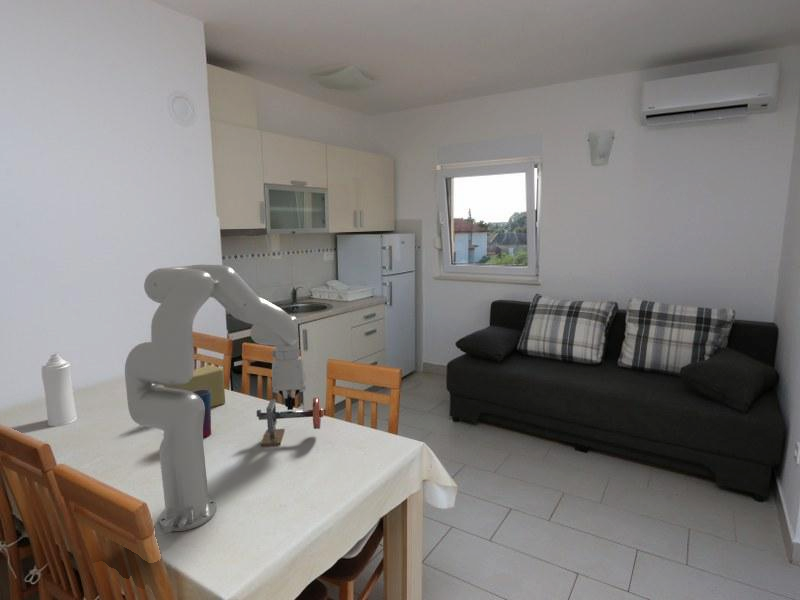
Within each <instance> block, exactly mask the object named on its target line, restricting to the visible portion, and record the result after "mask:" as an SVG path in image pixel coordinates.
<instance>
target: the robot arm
mask: <svg viewBox="0 0 800 600" xmlns="http://www.w3.org/2000/svg"><path fill="white" fill-rule="evenodd" d="M143 288H144V291H145V295H146V296H147V297H148V298H149V299H150V300H151V301H153V302H156V303H158V304H160V305H159V306H157V309H156V310H155V311H154V314H153V316H152V320H151V325H150V338H151V339H150V340H151V341H145V342H142V343H138V344H137V345H135V346H134V347H133V348H132V349H130V350H131V351H130V352H129V353H128V355H127V357H126V360H125V363H124V378H125V388H126V389H125V390H126V398H127V399H126V400H127V407H128V413H129V416H130V417H131V419H132V421H134V423H136V424H138V425H139V426H142V427H147V428H151V429H152V428H153V429H158V430H161V431H163V432H164V436H163V437H162V440H161V443H160V446H159V449H158V450H159V451H158V452H159V454H158V455H159V462H160V470H161V471H160V472H161V480H162V488H163V498H164V507H165V508H164V509H163V510H162V512H161V513H160V515H159V518H158V521H159V525H160V527H161V528H162V531H163V532H164V533H165V534H170V533H171V532H183V531H188V530H192V529H194V528H197V527H200V526H202V525H203V524H205V523H206V522H208V521H209V520H211V518H213V516H214V515H215V514H216V512H217V504H216V501H215V500H214V499H213V498H211V497H209V492H208V489H209V488H208V480H207V479H208V478H207V469H206V457H205V447H204V438H203V422H204V415H205V405H204V402H203V400H202V399H201V397H200V396H198V395H197V394H195V393H193V392H190V391H187V390H181V389H174V388H166V387H164V385H167V386H181V385H184V384H186V383H188V382H189V381H190V380H191V379H192V377H193V375H194V370H195V365H196V364H195V363H196V362H195V351H194V338H193V337H194V335H193V325H194V320H195V318H196V315H197V314H198V312H199V311H200V309H201V308H202V306H204V304H205V303H206V302H207V301H208V300H209V299H210V298H213V299H215V300H216V301H217V302H218V303H219V304H220V305H221V306H222V307H224V308H225V310H226V311H227V312H228V313H229V315H231V316H233V318H234V319H236V320H239V321H242V322H244V323H247V324H251V325H252V326H251V329H250V331H249V332H250V333H249V334H250V337H251V339H252V340H253V342H254V343H256V344H259V345H265V346H274V350H273V351H272V350H271V351H270V356H272V357H274V358H273V359H272V364H271V386H272V392H273V393H275V394H280V396H281V397H283V399H284V404H285V405H284V406H285V408H287V411H294V407H296V396H297V395H299V393H301V392H305V391H307V385H306V374H305V373H306V371H305V367H304V362H303V358H302V357H303V356H301V355H300V338H299V323H298V318H297V317H296V316H294V315H289V314H288V312H287V311H285V310H284V309H282V308H280V307H279V306H277V305H275V304H274V303H272V302H270V301H268V300H266V299H265V298H262V297H260V296H258V295H257V294H256V292H255V291H253V289H252V288H251V287H250V286H249V285H248V284H247V283H246V281H244V279H243V278H242V277H241V276H240V275H239V273H237V272H236V270H234V269H233V267H230V266H228V265H225V264H224V265H223V264H194V265H183V266H174V267H173V266H172V267H161V268H156V269H154V270H152V271H151V272H149V273H148V274H147V275H146V278H145V281H144V284H143ZM289 391H291V394H289Z"/></svg>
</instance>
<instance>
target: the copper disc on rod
mask: <svg viewBox="0 0 800 600" xmlns="http://www.w3.org/2000/svg"><path fill="white" fill-rule="evenodd" d="M272 413H273V419H277V420H278V419H279V420H282V419H297V418H312V425H313V429H314V430H320V429H321V426H322V425H321V421H322V418H324V415H325V414H324V408H322V407H321V398H320V397H313V398H312V409H305V410H287V411H276V412H272ZM257 417H258V418H257ZM256 418H257V419H258V421H264V420H266V421H267V412H262V409H256Z"/></svg>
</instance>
